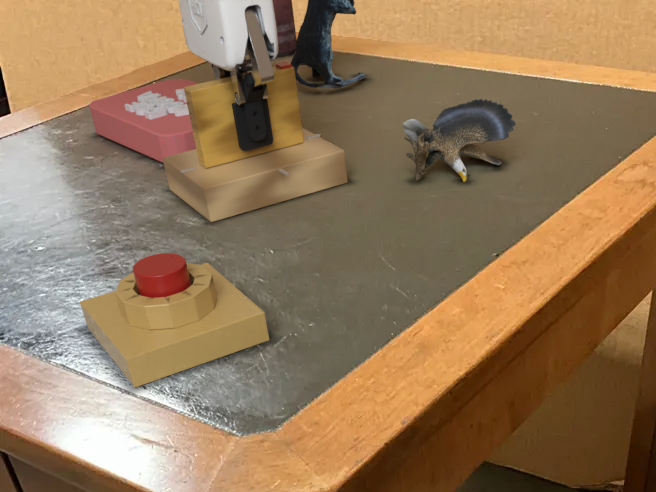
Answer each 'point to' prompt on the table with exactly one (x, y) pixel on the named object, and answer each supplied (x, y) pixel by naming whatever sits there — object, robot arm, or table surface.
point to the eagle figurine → (458, 135)
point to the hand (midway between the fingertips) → (250, 142)
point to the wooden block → (219, 125)
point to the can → (285, 27)
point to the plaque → (147, 119)
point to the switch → (174, 325)
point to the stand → (256, 177)
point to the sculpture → (320, 42)
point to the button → (161, 275)
